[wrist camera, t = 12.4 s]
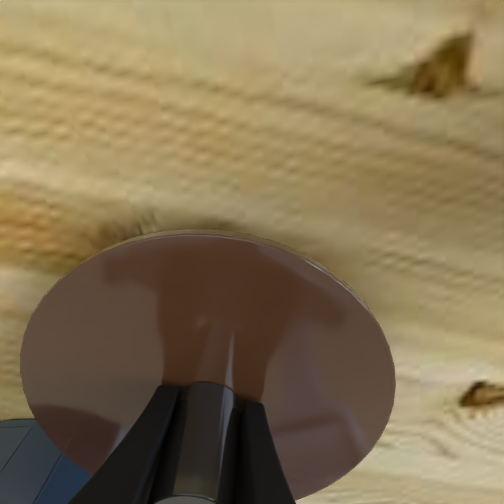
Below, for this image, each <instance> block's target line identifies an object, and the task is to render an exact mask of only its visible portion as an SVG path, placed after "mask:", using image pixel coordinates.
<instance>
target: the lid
mask: <svg viewBox="0 0 504 504" xmlns="http://www.w3.org/2000/svg"><path fill="white" fill-rule="evenodd" d="M20 372H21V378H22V384H23V390H24V393H25V395H26V398H27V401H28V404H29V407H30V409H31V411H32V413H33V415H34V416H35V418H36V420H37V422H38V424H39V425H40V427H41V428H42V429H43V431H44V432H45V434H46V435H47V436H48V438H49V439H50V440H51V441H52V442H53V443H54V444H55V445H56V447H57V448H58V449H59V450H60V451H61V452H62V453H63V454H64V455H65V456H67V457H68V458H69V459H70V460H71V461H72V462H74V463H75V464H76V465H77V466H79V467H80V468H81V469H83V470H84V471H86V472H87V473H89V474H90V475H91V476H93V475H94V474H95V472H96V471H97V470H98V469H99V468H100V467H101V465H102V464H103V463H104V462H105V461H106V459H107V458H108V457H109V456H110V454H111V453H112V452H113V451H114V450H115V448H116V447H117V446H118V445H119V443H120V442H121V441H122V440H123V438H124V437H125V436H126V434H127V433H128V432H129V430H130V429H131V427H132V426H133V425H134V423H135V422H136V421H137V419H138V418H139V416H140V415H141V413H142V412H143V411H144V409H145V407H146V406H147V404H148V403H149V401H150V400H151V398H152V396H153V394H154V393H155V391H156V389H157V387H158V386H160V385H164V386H170V387H175V388H178V393H177V399H176V404H175V407H174V411H173V414H172V418H171V421H170V425H169V428H168V431H167V434H166V437H165V440H164V444H163V448H162V451H161V455H160V458H159V462H158V465H157V469H156V472H155V476H154V479H153V483H152V486H151V490H150V493H149V497H148V500H147V504H236V496H237V478H238V459H239V440H240V422H241V413H242V410H243V407H244V403H245V400H247V401H252V402H258V403H262V404H263V405H264V407H265V412H266V416H267V420H268V424H269V428H270V432H271V435H272V438H273V442H274V445H275V448H276V451H277V454H278V457H279V460H280V463H281V466H282V469H283V472H284V475H285V477H286V480H287V483H288V485H289V488H290V490H291V493H292V495H293V498H294V500H298V499H301V498H303V497H306V496H308V495H311V494H313V493H315V492H317V491H319V490H321V489H323V488H325V487H327V486H329V485H331V484H332V483H334V482H335V481H337V480H338V479H340V478H342V477H343V476H345V475H346V474H347V473H348V472H350V471H351V470H352V469H353V468H354V467H356V466H357V465H358V464H359V463H360V462H361V461H362V460H363V459H364V458H365V457H366V456H367V454H368V453H369V452H370V451H371V450H372V448H373V447H374V446H375V444H376V443H377V441H378V440H379V438H380V437H381V435H382V433H383V431H384V429H385V427H386V425H387V423H388V421H389V418H390V414H391V411H392V407H393V404H394V396H395V387H396V382H395V368H394V362H393V359H392V355H391V351H390V347H389V344H388V342H387V340H386V338H385V336H384V333H383V331H382V329H381V327H380V325H379V323H378V322H377V320H376V318H375V317H374V315H373V314H372V312H371V311H370V310H369V308H368V307H367V305H366V304H365V302H364V301H363V300H362V299H361V298H360V297H359V295H358V294H357V293H356V292H355V291H354V290H353V289H352V288H351V287H350V286H349V285H348V284H347V283H346V282H345V281H343V280H342V279H341V278H340V277H338V276H337V275H336V274H335V273H333V272H332V271H331V270H330V269H329V268H327V267H325V266H324V265H322V264H320V263H319V262H317V261H315V260H314V259H312V258H310V257H309V256H307V255H305V254H303V253H301V252H299V251H296V250H294V249H292V248H289V247H287V246H285V245H282V244H280V243H278V242H274V241H271V240H267V239H264V238H260V237H257V236H253V235H250V234H244V233H238V232H231V231H225V230H214V229H181V230H170V231H160V232H155V233H151V234H146V235H142V236H137V237H133V238H130V239H128V240H125V241H122V242H119V243H117V244H114V245H111V246H109V247H106V248H105V249H103V250H101V251H99V252H97V253H95V254H94V255H92V256H90V257H88V258H86V259H85V260H83V261H82V262H81V263H79V264H78V265H77V266H76V267H74V268H73V269H72V270H70V271H69V272H68V273H66V274H65V275H64V276H63V277H62V278H60V279H59V280H58V281H57V282H56V284H55V285H54V286H53V287H52V288H51V289H50V290H49V291H48V292H47V293H46V294H45V295H44V296H43V298H42V300H41V301H40V303H39V304H38V306H37V307H36V309H35V311H34V312H33V314H32V316H31V318H30V321H29V323H28V326H27V328H26V331H25V333H24V338H23V343H22V348H21V353H20Z"/></svg>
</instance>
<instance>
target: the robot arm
mask: <svg viewBox="0 0 504 504" xmlns="http://www.w3.org/2000/svg"><path fill="white" fill-rule="evenodd" d="M177 393H178V388H175V387H170V386H164V385H160V386H158V387H157V389H156V391H155V393H154V394H153V396H152V398H151V400H150V401H149V403H148V404H147V406H146V407H145V409H144V411H143V412H142V413H141V415H140V416H139V418H138V419H137V421H136V422H135V423H134V425H133V426H132V427H131V429H130V430H129V432H128V433H127V434H126V436H125V437H124V438H123V440H122V441H121V442H120V443H119V445H118V446H117V447H116V448H115V450H114V451H113V452H112V453H111V454H110V456H109V457H108V458H107V459H106V461H105V462H104V463H103V464H102V465H101V467H100V468H99V469H98V470H97V471H96V472H95V474H94V475H93V476H92V477H91V478H90V479H89V480H88V481H87V483H86V484H85V485H84V486H83V487H82V488H81V489H80V490H79V491H78V492H77V493H76V495H75V496H74V497H73V498H72V499H71V500H70V501H69V502H68V503H67V504H147V500H148V497H149V493H150V490H151V486H152V483H153V479H154V476H155V472H156V469H157V465H158V462H159V458H160V455H161V451H162V448H163V444H164V440H165V437H166V434H167V431H168V428H169V425H170V421H171V418H172V414H173V411H174V407H175V404H176V399H177ZM236 504H296V503H295V500H294V498H293V495H292V493H291V490H290V488H289V485H288V483H287V480H286V477H285V475H284V472H283V469H282V466H281V463H280V460H279V457H278V454H277V451H276V448H275V445H274V442H273V438H272V435H271V432H270V428H269V424H268V420H267V416H266V412H265V407H264V405H263V404H262V403H258V402H252V401H247V400H245V403H244V407H243V410H242V413H241V422H240V440H239V459H238V478H237V496H236Z"/></svg>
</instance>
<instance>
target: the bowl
mask: <svg viewBox="0 0 504 504" xmlns="http://www.w3.org/2000/svg"><path fill="white" fill-rule="evenodd" d="M91 477H92V476H91V475H90V474H89V473H87V472H86V471H84V470H83V469H81V468H80V467H79V466H77V465H76V464H75V463H74V462H72V461H71V460H70V459H69V458H68V457H67V456H65V455H64V454H63V453H62V452H61V451H60V450H59V449H58V448H57V447H56V445H55V444H54V443H53V442H52V441H51V440H50V439H49V438H48V436H47V435H46V434H45V432H44V431H43V429H42V428H41V427H40V425H39V424H38V422H37V420H33V419H22V420H9V421H3V422H0V504H67V503H68V502H69V501H70V500H71V499H72V498H73V497H74V496H75V495H76V493H77V492H78V491H79V490H80V489H81V488H82V487H83V486H84V485H85V484H86V483H87V481H88V480H89V479H90V478H91Z"/></svg>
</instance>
